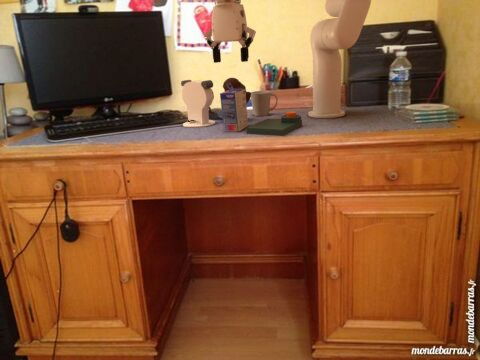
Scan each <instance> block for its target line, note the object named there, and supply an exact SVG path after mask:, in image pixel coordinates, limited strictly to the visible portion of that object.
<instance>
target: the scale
mask: <svg viewBox="0 0 480 360" xmlns="http://www.w3.org/2000/svg"><path fill="white" fill-rule="evenodd" d="M302 126H303V119H302V115H300V114H296V117H286V114H284V115H281V116H280V118H270V117H269V118H265V119H264V120H261V121H259V122H257V123H255V124H252V125H250V126H249V125H248V126H246V134H247V135H248V134H249V135H261V136H279V137H284V136H286V135H287V134H289V133H291V132H293V131H295V130H296V129H299V128H300V127H302Z"/></svg>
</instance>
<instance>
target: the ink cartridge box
mask: <svg viewBox="0 0 480 360" xmlns="http://www.w3.org/2000/svg"><path fill="white" fill-rule="evenodd" d="M226 85H227V87H228V89H229V90H227V91H225V90H224V91H223V92H221V93H219V99H220V107H221V108H220V109H221V116H222V125H223V132H224V133H238V132H239V133H240V132H241V131H242V130H243V129H246V128H247V127H249V118H248V109H247V108H248V106H247V105H248V103H247V104H246V92H247V91H246V92H245V89H234V88H233V86H232V84H231V83H226ZM229 85H231V87H230V88H229Z"/></svg>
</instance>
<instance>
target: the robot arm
mask: <svg viewBox="0 0 480 360" xmlns="http://www.w3.org/2000/svg"><path fill="white" fill-rule="evenodd" d="M213 2H214V6H213V7H212V14H211V28H210V29H209V30H208V31H207V32H205V33H204V35H203V37H204V39H205V41H206V43H207V45H208V46H209V47H210V49H211V51H212V60H213V63H214V64H217V63H221V62H222V56H221V55H222V54H221V48H220V47H221V44H222V43H228V42H238V43H239V45H240V46H241V47H240V62H242V63H247V62H248V61H249V57H250V56H249V52H250V51H249V48H250V46H251V45H252V43H253V42H254V38H255V37H256V33H257V31H256V30H255V29H253V28H251V27H250V26H248V23H247V15H246V11H245V7H244V4H241V3H242V0H214V1H213ZM371 3H372V0H325V3H324V9H325V12H326V14H327V15H328V16H330V17H332V18H325V19H321V20H320V21H318V22H316V23H315V24H314V25H313V27H312V28H311V31H310V36H309V39H310V40H309V41H310V46H311V52H312V110H311V111H308V113H307V114H308V116H309V117H310V118H316V119H335V118H342V117H344V116H345V115H346V111H345V110H344V109H343V110H342V109H341V106H342V105H341V101H342V68H343V67H342V66H343V64H342V63H343V62H342V56H341V53H340V50H341V51H342V50H348V49H350V48H352V47H353V46H354V45H355V44H356V43H357V41H358V40H359V37H360V35H361V32H362V30H363V27H364V24H365V21H366V19H367V16H368V13H369V10H370V7H371Z"/></svg>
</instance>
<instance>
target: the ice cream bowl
mask: <svg viewBox="0 0 480 360" xmlns="http://www.w3.org/2000/svg"><path fill="white" fill-rule="evenodd" d="M226 83H231V84H232V86H233V88H234V89H245V92H246V104H247V105H248V103H249V102H250V101H251V92H250V91H247V88H246V86H245V85H244V84H243V83H242V82H241V81H240V80H239V79H238V78H237V77H228V78H227V79H225V80H224V81H223V84H222V88H223V90H224V92H225V91H227V90H229V89H228V87H227V85H226ZM230 87H231V85H229V88H230Z"/></svg>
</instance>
